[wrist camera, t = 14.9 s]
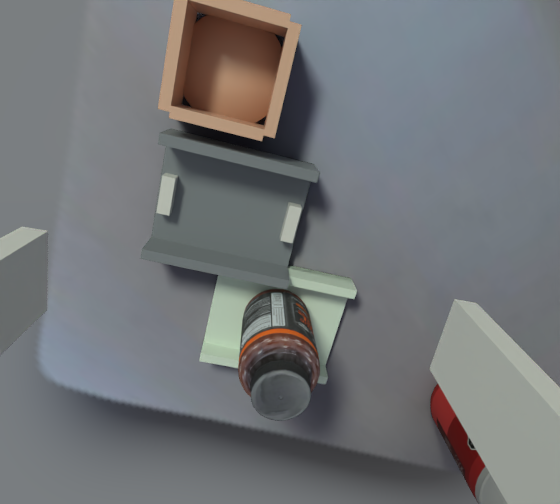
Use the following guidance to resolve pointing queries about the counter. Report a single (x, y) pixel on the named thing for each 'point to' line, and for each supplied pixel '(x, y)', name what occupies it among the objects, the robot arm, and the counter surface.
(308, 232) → the counter surface
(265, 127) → the open cardboard box
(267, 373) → the supplement bottle
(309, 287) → the trough
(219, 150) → the checker cradle
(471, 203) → the counter surface
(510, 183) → the counter surface
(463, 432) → the canned food
